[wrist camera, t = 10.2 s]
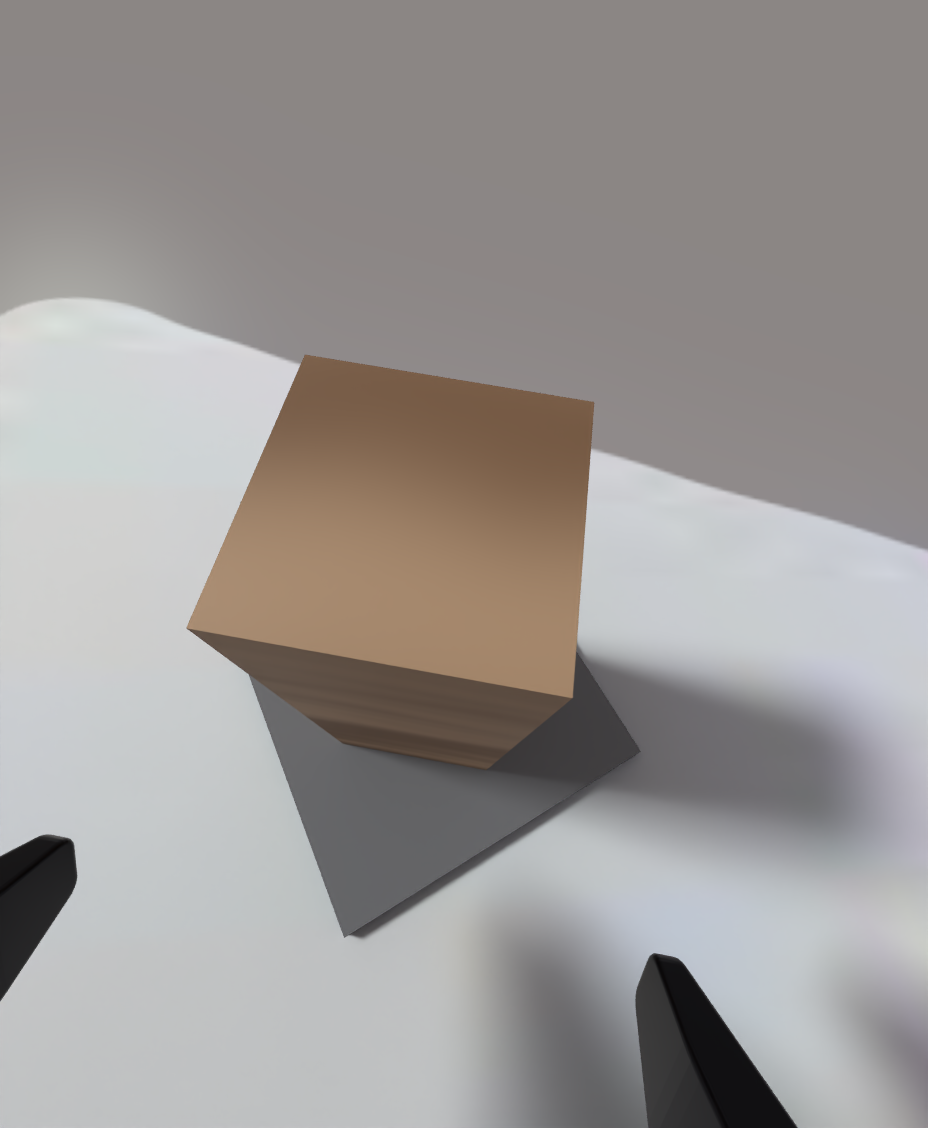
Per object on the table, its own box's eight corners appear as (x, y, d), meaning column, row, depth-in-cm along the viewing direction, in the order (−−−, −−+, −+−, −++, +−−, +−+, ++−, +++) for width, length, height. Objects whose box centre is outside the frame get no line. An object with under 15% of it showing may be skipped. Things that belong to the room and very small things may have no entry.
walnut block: (485, 770, 16) (572, 698, 6) (342, 743, 16) (185, 628, 6) (505, 632, 18) (594, 402, 8) (377, 609, 18) (305, 354, 8)
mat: (346, 934, 14) (344, 937, 14) (234, 626, 18) (229, 622, 17) (636, 752, 16) (640, 751, 16) (485, 515, 20) (485, 510, 20)
